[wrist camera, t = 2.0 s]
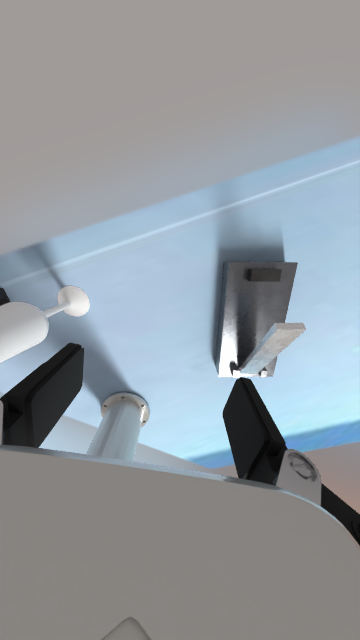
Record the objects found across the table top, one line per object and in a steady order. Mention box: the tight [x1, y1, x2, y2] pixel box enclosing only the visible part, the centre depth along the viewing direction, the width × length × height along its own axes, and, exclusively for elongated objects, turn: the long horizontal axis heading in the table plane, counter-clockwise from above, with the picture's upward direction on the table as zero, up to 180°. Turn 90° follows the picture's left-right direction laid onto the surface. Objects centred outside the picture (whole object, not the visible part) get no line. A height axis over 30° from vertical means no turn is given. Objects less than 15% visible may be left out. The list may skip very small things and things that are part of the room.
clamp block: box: [215, 262, 298, 377], centre depth 36 cm, size 24×12×6 cm, turn 0°
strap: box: [239, 323, 306, 374], centre depth 31 cm, size 18×4×1 cm
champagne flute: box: [0, 286, 90, 363], centre depth 26 cm, size 7×7×24 cm
